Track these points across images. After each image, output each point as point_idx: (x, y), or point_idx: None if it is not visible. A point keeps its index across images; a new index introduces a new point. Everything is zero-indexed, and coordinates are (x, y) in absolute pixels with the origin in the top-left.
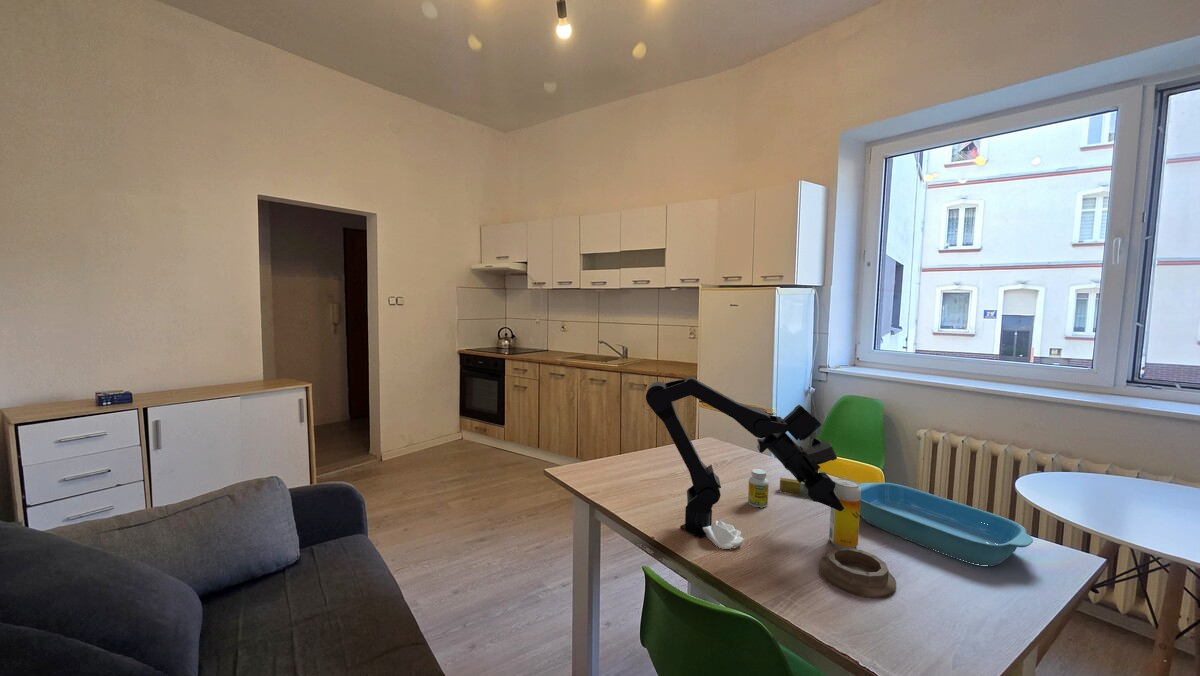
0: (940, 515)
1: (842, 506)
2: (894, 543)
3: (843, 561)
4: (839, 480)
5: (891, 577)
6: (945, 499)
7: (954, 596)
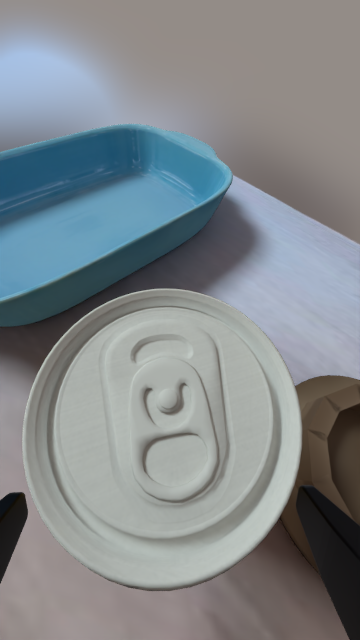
0: (42, 190)
1: (330, 503)
2: None
3: None
4: (76, 456)
5: (340, 381)
6: (23, 148)
7: (321, 294)
